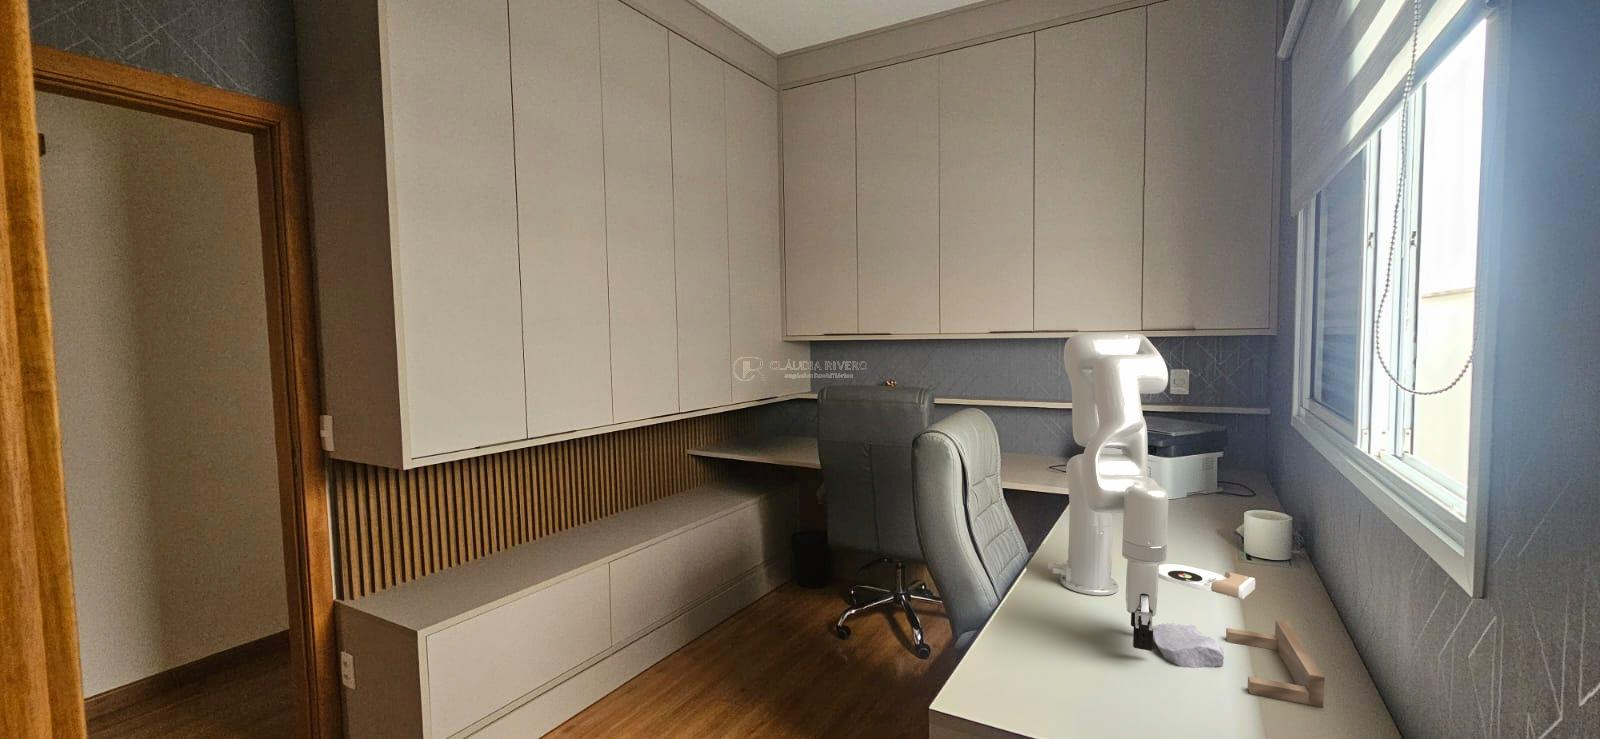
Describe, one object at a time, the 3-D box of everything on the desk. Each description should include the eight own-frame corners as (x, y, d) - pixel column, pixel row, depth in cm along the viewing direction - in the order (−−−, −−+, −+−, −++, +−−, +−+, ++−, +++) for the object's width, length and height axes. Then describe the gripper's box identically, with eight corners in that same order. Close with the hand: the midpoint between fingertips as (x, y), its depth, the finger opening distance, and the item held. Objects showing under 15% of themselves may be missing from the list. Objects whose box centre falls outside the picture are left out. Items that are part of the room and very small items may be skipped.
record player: (1241, 588, 150) (1147, 565, 165) (1240, 602, 150) (1147, 578, 165) (1256, 576, 158) (1166, 555, 173) (1256, 589, 158) (1165, 567, 173)
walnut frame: (1250, 693, 112) (1251, 664, 112) (1225, 637, 132) (1227, 613, 132) (1323, 707, 108) (1324, 677, 108) (1286, 647, 128) (1288, 622, 128)
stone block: (1176, 678, 121) (1230, 667, 121) (1171, 652, 120) (1226, 642, 120) (1142, 649, 132) (1192, 639, 132) (1138, 625, 132) (1187, 615, 132)
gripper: (1121, 535, 137) (1118, 616, 138) (1123, 562, 121) (1120, 653, 122) (1162, 539, 133) (1159, 623, 135) (1170, 568, 118) (1167, 662, 119)
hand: (1141, 637), depth 128 cm, fingers open, 9 cm apart
